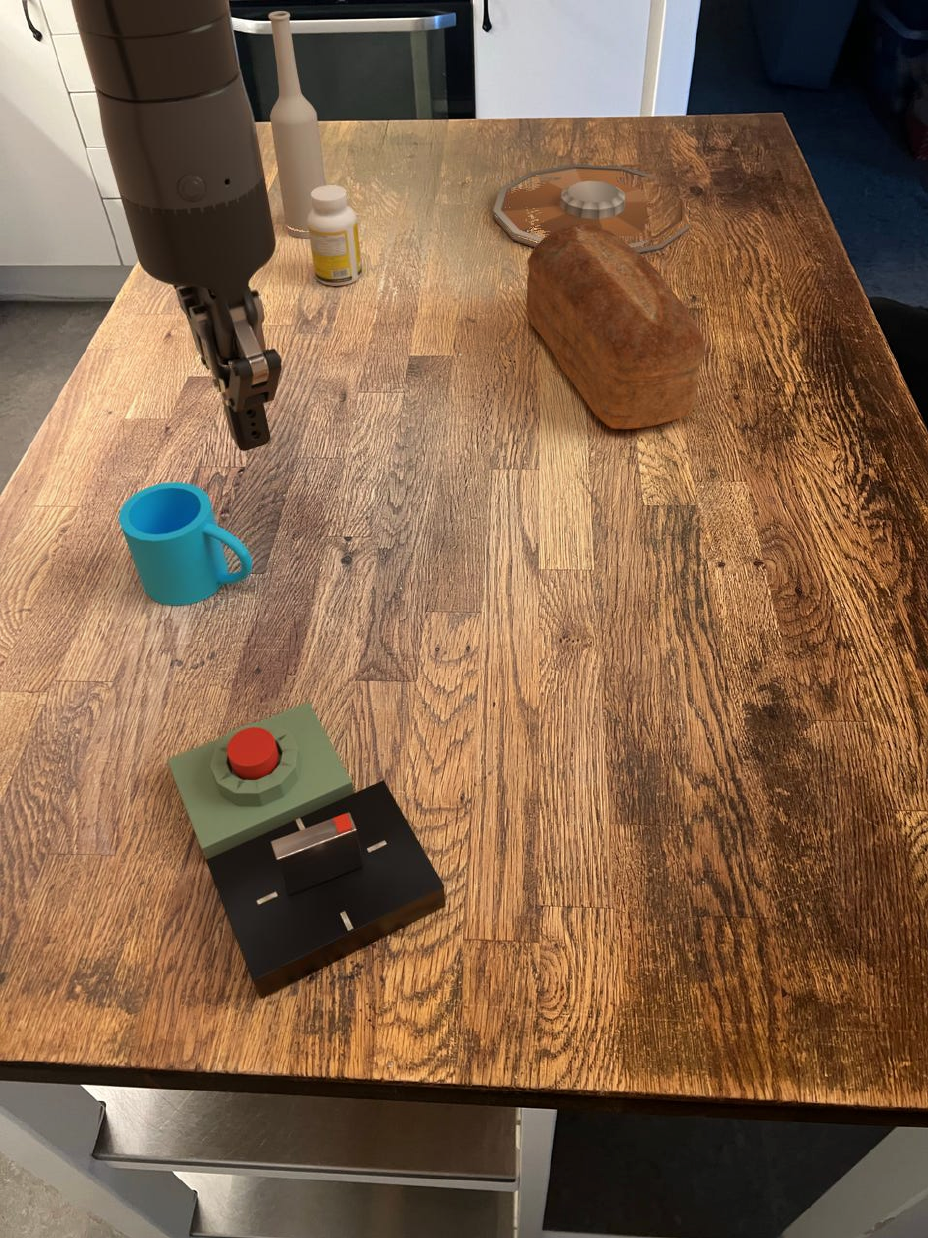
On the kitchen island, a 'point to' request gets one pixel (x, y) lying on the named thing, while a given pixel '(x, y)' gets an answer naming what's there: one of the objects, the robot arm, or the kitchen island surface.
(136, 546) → the mug
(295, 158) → the bottle
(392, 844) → the base
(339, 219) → the pill bottle
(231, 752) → the button
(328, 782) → the block
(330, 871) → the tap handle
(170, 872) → the kitchen island surface
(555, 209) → the shield
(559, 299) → the bread
